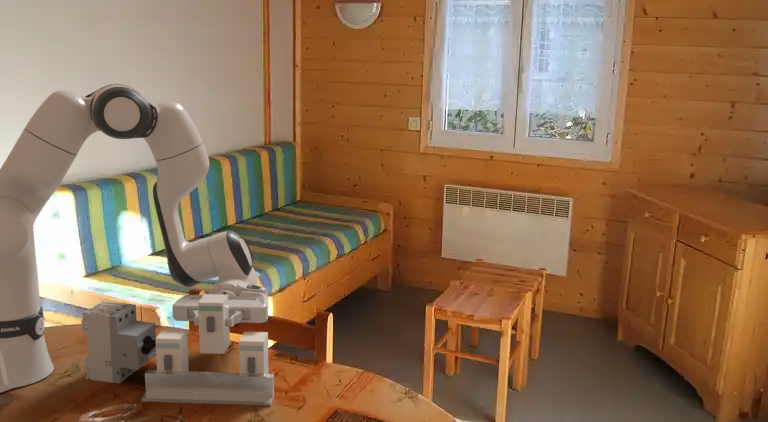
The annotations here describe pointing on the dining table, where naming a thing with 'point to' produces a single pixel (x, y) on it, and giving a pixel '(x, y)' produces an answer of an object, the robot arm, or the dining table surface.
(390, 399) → the dining table surface
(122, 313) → the circuit breaker
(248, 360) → the module right
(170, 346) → the module left
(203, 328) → the loose module
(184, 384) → the rail
